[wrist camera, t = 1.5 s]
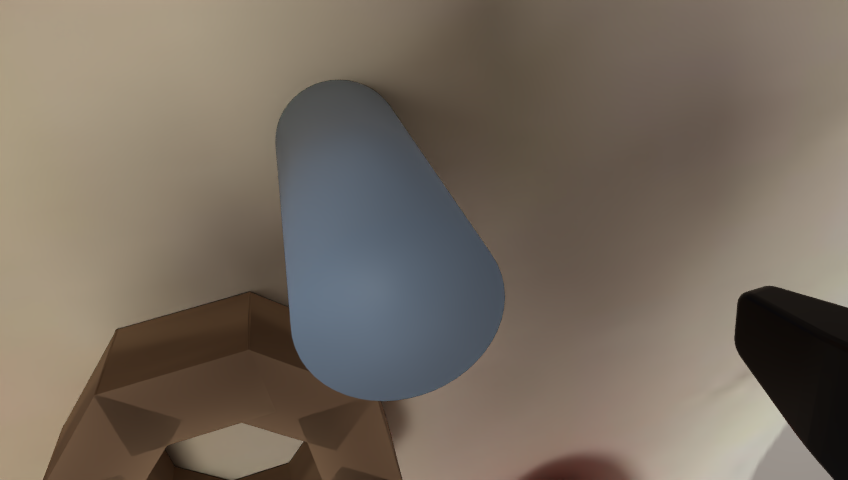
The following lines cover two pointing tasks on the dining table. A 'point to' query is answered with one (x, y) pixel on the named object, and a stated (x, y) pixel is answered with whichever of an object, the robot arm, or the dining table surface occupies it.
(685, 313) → the dining table surface
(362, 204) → the tapered blue cylinder
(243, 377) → the bead
